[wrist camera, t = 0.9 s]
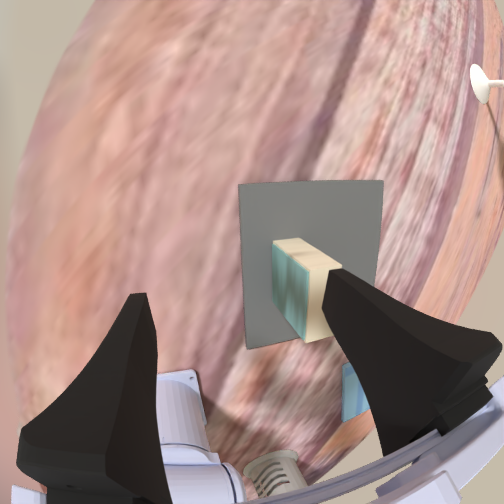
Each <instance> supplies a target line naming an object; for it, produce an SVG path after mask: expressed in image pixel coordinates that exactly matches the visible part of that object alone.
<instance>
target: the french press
mask: <svg viewBox="0 0 504 504" xmlns="http://www.w3.org/2000/svg"><path fill="white" fill-rule="evenodd" d="M297 459H298V454H297V452H295V451H292V450H279V451H275V452H271V453H268V454H265V455H263V456H260V457H258V458H256V459H255V460H253V461H251V462H250V463H249V464H248V465H247V466H246V467H245V468H244V470H243V474H244V475H245V476H246V477H247V478H250V479H252V481H253V483H254V486H255V488H256V491H257V493H258V496H259V498H265V495H266V494H267V496H268V497H269V496H274V495H278V494H282V493H286V492H290V491H293V490H297V489H301V488H304V487H307V486H308V485H307V483H306V481H305V479H304V478H303V476H302V474H301V472H300V470H299V468H298V467H297V465H296V461H297ZM288 480H289V482H290V483H285V484H282V485H276V484H277V483H282V482H286V481H288ZM260 482H262V485H261V487H260V485H259V484H260ZM263 488H264V489H265V491H264V493H263V492H262V489H263Z"/></svg>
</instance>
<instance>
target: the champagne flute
mask: <svg viewBox="0 0 504 504" xmlns="http://www.w3.org/2000/svg"><path fill="white" fill-rule="evenodd" d="M470 79H471V84H472V87H473V90H474V93H475V95H476V97H477V99H478V100H479V101H480V102H481V103H482V104H486V103H487V102H488V99H489V94H490V88H491V87H504V80H489V79H488V78H487V76H486V75H485V74H484V72H483V71H482V69H481V68H480V67H479V66H478V65H476V64H473V65H472V66H471V69H470Z"/></svg>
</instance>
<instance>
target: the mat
mask: <svg viewBox="0 0 504 504" xmlns="http://www.w3.org/2000/svg"><path fill="white" fill-rule="evenodd" d="M383 187H384V181H382V180H321V181H290V182H269V183H252V184H238V191H239V215H240V238H241V260H242V281H243V301H244V320H245V339H246V348H247V349H252V348H256V347H261V346H266V345H270V344H274V343H279V342H283V341H287V340H291V339H296V338H300V336H299V335H298V333H297V332H296V331H295V330H294V328H293V327H292V326H291V324H290V323H289V322H288V321H287V319H286V318H285V317H284V316H283V314H282V313H281V312H280V310H279V309H278V308H277V307H276V305H275V304H274V303H273V301H272V244H273V241H275V240H284V239H292V238H300V239H302V240H304V241H305V242H307V243H308V244H310V245H312V246H313V247H315V248H316V249H318V250H320V251H321V252H323V253H324V254H326V255H327V256H329V257H331V258H332V259H334V260H335V261H337V262H338V263H340V264H342V268H343V269H345V270H347V271H349V272H350V273H352V274H354V275H355V276H357V277H359V278H360V279H362V280H364V281H365V282H367V283H369V284H370V285H372V286H373V287H374V283H375V276H376V268H377V260H378V252H379V242H380V232H381V220H382V206H383Z"/></svg>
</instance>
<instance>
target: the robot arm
mask: <svg viewBox="0 0 504 504" xmlns="http://www.w3.org/2000/svg"><path fill="white" fill-rule="evenodd" d="M321 308H322V311H323V313H324V316H325V318H326V321H327V323H328V325H329V328H330V329H331V331H332V333H333V335H334V336H335V338H336V340H337V342H338V343H339V345H340V347H341V348H342V350H343V352H344V353H345V355H346V357H347V358H348V360H349V362H350V364H351V365H352V367H353V369H354V371H355V373H356V375H357V377H358V379H359V381H360V384H361V386H362V388H363V391H364V393H365V396H366V399H367V401H368V404H369V407H370V409H371V412H372V415H373V419H374V422H375V425H376V428H377V432H378V436H379V440H380V444H381V448H382V453H383V456H384V457H383V458H381V459H379V460H377V461H374V462H372V463H370V464H367V465H365V466H363V467H360V468H358V469H356V470H353V471H351V472H348V473H346V474H343V475H340V476H337V477H335V478H332V479H329V480H326V481H323V482H320V483H317V484H314V485H311V486H307V487H304V488H301V489H297V490H293V491H290V492H286V493H282V494H278V495H274V496H269V497H265V498H260V499H255V500H250V501H247V496H246V490H245V486H244V483H243V480H242V477H241V475H240V474H239V472H238V471H237V470H236V469H235V468H234V467H233V466H232V465H231V464H230V463H227V462H223V463H221V462H220V458H219V455H218V453H212V452H211V449H210V446H209V442H208V438H207V435H206V431H205V427H204V426H205V425H206V424H207V422H206V417H205V413H204V409H203V404H202V400H201V395H200V391H199V386H198V381H197V376H196V372H195V371H194V370H192V369H191V370H184V371H177V372H170V373H163V374H157V359H158V352H157V336H156V329H155V325H154V322H153V318H152V314H151V310H150V306H149V302H148V298H147V294H146V293H135V294H130V295H129V296H128V298H127V300H126V302H125V304H124V306H123V307H122V309H121V311H120V313H119V315H118V317H117V318H116V320H115V322H114V323H113V325H112V327H111V329H110V330H109V332H108V334H107V335H106V337H105V338H104V340H103V341H102V343H101V345H100V346H99V348H98V349H97V351H96V352H95V354H94V355H93V356H92V358H91V359H90V361H89V362H88V363H87V365H86V366H85V367H84V369H83V370H82V371H81V372H80V374H79V375H78V376H77V377H76V378H75V380H74V381H73V382H72V383H71V384H70V385H69V386H68V387H67V389H66V390H65V391H64V392H63V393H62V394H61V395H60V396H59V397H58V398H57V399H56V400H55V401H54V402H53V403H52V404H51V405H49V406H48V407H47V408H46V409H45V410H44V411H43V412H42V413H40V414H39V415H38V416H37V417H35V418H34V419H33V420H32V421H30V422H29V423H28V424H27V425H25V426H24V427H22V429H21V433H20V438H19V445H18V453H17V461H16V464H17V467H18V468H19V469H20V470H21V471H22V472H23V473H25V474H26V475H27V476H29V477H31V478H33V479H34V480H36V481H37V482H39V483H41V484H43V485H44V486H46V487H47V494H45V493H42V492H39V491H35V490H31V489H28V488H24V487H21V486H17V485H12V500H11V501H12V502H11V504H318V503H321V502H324V501H327V500H330V499H333V498H336V497H338V496H341V495H343V494H346V493H349V492H351V491H353V490H356V489H358V488H360V487H363V486H365V485H368V484H370V483H372V482H374V481H376V480H378V479H380V478H382V477H385V476H387V475H389V474H391V473H393V472H395V471H396V470H398V469H400V468H402V467H404V466H406V465H408V464H410V463H411V462H413V463H412V465H411V466H410V467H408V468H407V469H405V470H404V471H402V472H400V473H398V474H397V475H396V476H395V477H393V478H392V479H390V480H389V481H388V482H386V483H384V484H383V485H381V486H379V487H377V488H376V493H377V495H378V496H379V498H378V499H376V500H374V501H371V502H370V503H367V504H460V501H461V499H462V497H461V495H460V493H459V490H460V489H461V488H463V487H464V486H465V485H466V484H467V483H468V482H469V481H470V480H471V479H472V478H473V477H474V476H475V475H476V474H477V473H478V472H479V471H480V470H481V469H482V468H483V467H484V466H485V465H486V464H487V463H488V462H489V461H490V460H491V459H492V458H493V457H494V455H495V454H496V453H497V452H498V451H499V450H500V449H501V448H502V446H503V445H504V375H503V376H502V377H501V378H500V379H499V380H498V381H496V382H495V383H494V384H493V385H492V386H490V387H489V389H488V388H487V387H486V385H485V384H486V383H487V382H488V380H487V378H486V377H485V374H486V372H487V371H488V370H489V369H490V367H491V366H492V365H493V363H494V362H495V361H496V359H497V358H498V356H499V355H500V352H501V351H502V343H501V342H500V341H499V340H498V339H497V338H496V337H495V336H494V335H493V334H492V333H491V332H486V331H480V330H475V329H469V328H465V327H462V326H457V325H454V324H451V323H448V322H445V321H442V320H439V319H436V318H434V317H431V316H429V315H426V314H424V313H422V312H420V311H417V310H415V309H413V308H411V307H409V306H407V305H405V304H403V303H401V302H399V301H398V300H396V299H394V298H392V297H390V296H389V295H387V294H385V293H383V292H382V291H380V290H378V289H377V288H375V287H373V286H372V285H370V284H369V283H367V282H365V281H364V280H362V279H360V278H359V277H357V276H355V275H354V274H352V273H350V272H349V271H347V270H345V269H343V268H339V269H332V270H329V273H328V278H327V283H326V288H325V293H324V298H323V302H322V307H321ZM190 377H193V378H190Z"/></svg>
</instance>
